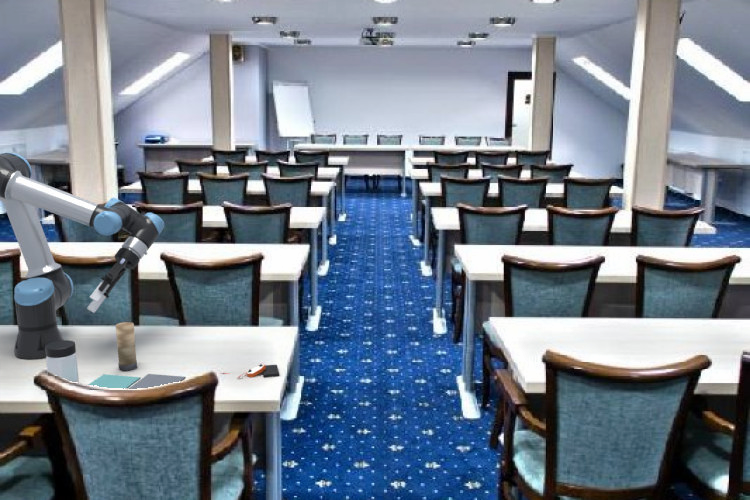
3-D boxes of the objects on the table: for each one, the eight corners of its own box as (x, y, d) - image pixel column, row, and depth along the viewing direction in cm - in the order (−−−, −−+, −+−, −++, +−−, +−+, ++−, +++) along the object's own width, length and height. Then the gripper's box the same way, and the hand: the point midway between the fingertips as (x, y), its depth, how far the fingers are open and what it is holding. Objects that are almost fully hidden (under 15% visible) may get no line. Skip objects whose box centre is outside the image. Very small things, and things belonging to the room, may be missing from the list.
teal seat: (80, 390, 217) (80, 389, 217) (103, 375, 229) (103, 374, 229) (119, 394, 215) (119, 392, 215) (140, 378, 226) (140, 377, 226)
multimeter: (216, 387, 221) (216, 376, 220) (219, 372, 232) (219, 361, 232) (279, 384, 223) (279, 373, 222) (279, 369, 235) (278, 358, 234)
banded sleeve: (115, 370, 233) (111, 326, 230) (124, 364, 238) (121, 321, 235) (131, 371, 231) (128, 327, 228) (140, 365, 237) (137, 322, 234)
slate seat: (127, 390, 217) (127, 389, 217) (148, 375, 229) (148, 373, 229) (166, 393, 215) (166, 392, 215) (185, 378, 226) (185, 376, 226)
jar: (71, 375, 229) (67, 337, 226) (85, 382, 224) (82, 343, 221) (42, 384, 222) (38, 345, 219) (56, 391, 217) (52, 351, 214)
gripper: (145, 247, 241) (105, 301, 231) (136, 271, 263) (99, 321, 253) (124, 234, 240) (83, 287, 230) (117, 259, 262) (79, 308, 252)
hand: (91, 305), depth 241 cm, fingers open, 13 cm apart
